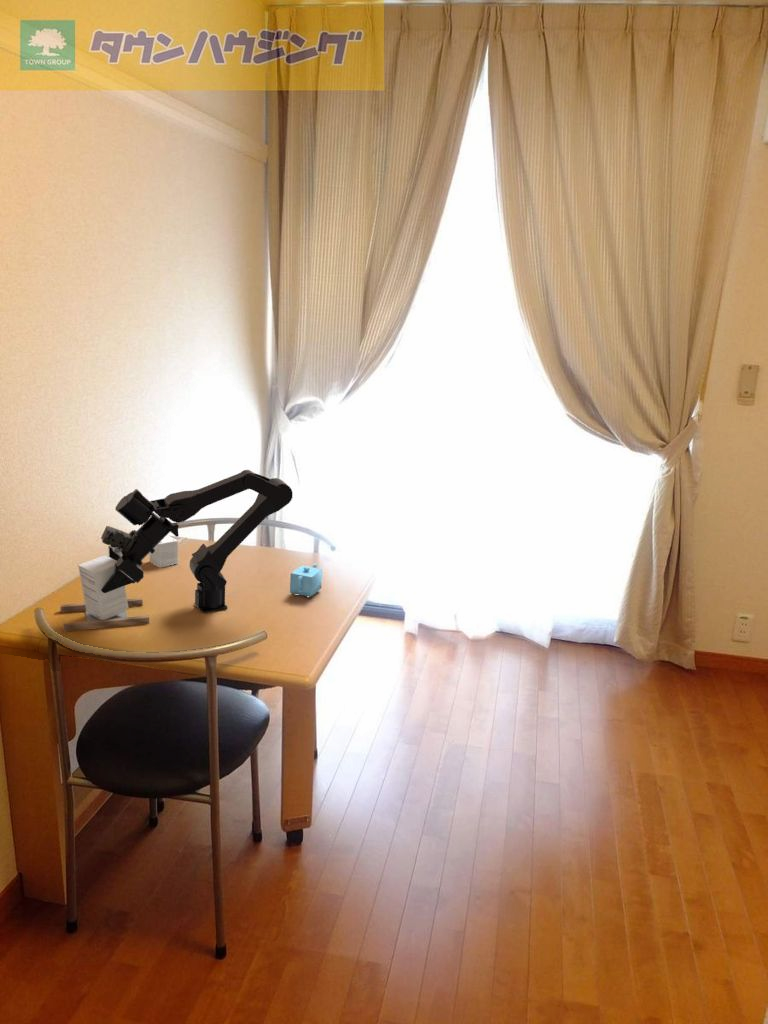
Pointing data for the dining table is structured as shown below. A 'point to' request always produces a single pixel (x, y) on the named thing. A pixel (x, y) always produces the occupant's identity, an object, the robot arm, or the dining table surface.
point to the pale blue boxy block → (306, 580)
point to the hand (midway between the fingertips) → (100, 584)
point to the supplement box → (92, 583)
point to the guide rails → (97, 623)
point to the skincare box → (165, 552)
